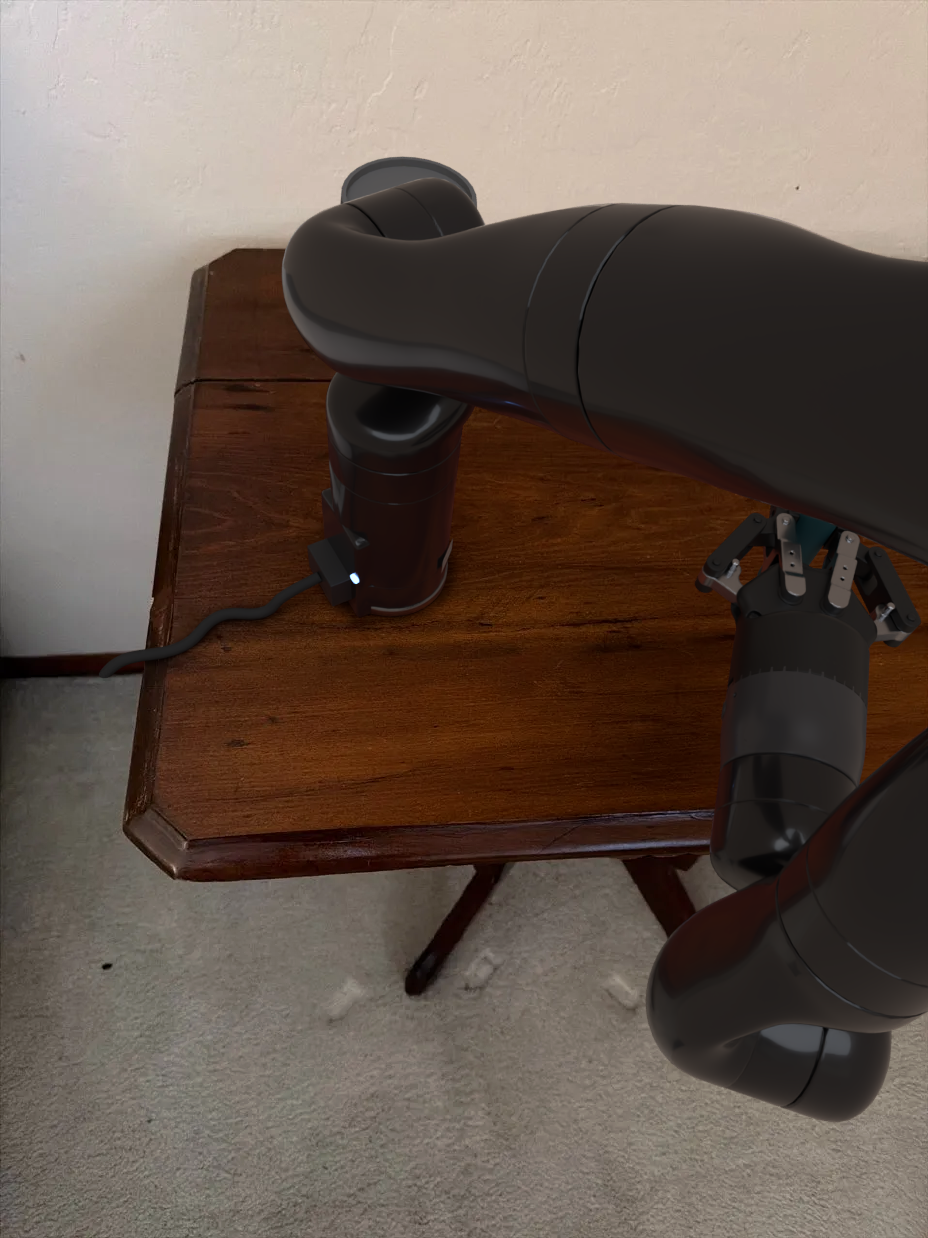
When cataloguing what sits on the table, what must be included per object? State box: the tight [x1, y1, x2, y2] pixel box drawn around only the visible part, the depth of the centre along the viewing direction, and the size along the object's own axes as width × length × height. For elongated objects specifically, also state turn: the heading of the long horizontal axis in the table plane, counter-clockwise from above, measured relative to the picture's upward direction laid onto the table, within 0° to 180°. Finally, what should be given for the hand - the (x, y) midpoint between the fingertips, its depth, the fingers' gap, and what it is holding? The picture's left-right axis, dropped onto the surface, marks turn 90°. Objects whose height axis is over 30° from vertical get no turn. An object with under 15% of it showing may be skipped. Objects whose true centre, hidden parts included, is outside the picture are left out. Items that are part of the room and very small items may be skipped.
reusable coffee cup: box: [339, 156, 478, 209], centre depth 84 cm, size 13×13×15 cm
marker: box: [756, 514, 837, 576], centre depth 58 cm, size 3×3×13 cm
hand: (814, 492), depth 59 cm, fingers closed on marker, 2 cm apart
